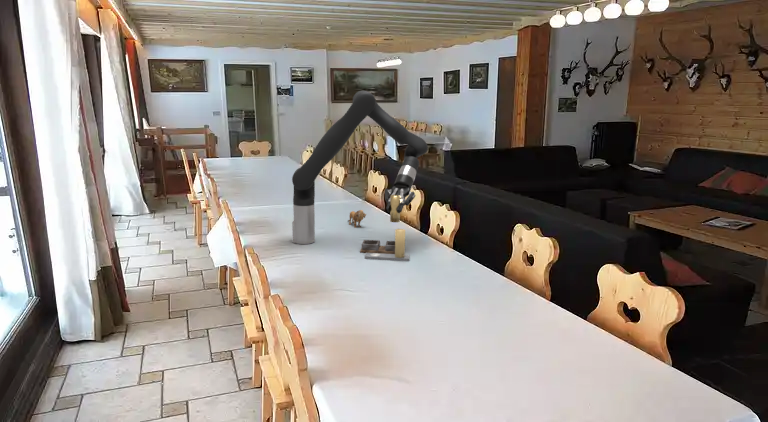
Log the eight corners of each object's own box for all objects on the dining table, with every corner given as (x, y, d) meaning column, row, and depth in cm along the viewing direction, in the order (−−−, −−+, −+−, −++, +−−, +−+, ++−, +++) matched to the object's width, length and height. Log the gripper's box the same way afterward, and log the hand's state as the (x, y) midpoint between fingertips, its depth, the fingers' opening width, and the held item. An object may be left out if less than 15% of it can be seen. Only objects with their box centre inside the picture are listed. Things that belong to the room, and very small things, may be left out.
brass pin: (389, 222, 210) (390, 196, 208) (390, 219, 214) (391, 194, 212) (399, 222, 210) (399, 196, 208) (399, 220, 214) (400, 194, 211)
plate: (364, 258, 204) (365, 230, 202) (366, 255, 209) (366, 227, 207) (409, 261, 203) (410, 232, 200) (409, 257, 208) (410, 229, 205)
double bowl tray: (360, 252, 212) (360, 244, 212) (362, 247, 220) (362, 239, 219) (402, 254, 211) (403, 246, 210) (404, 249, 219) (404, 241, 218)
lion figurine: (367, 227, 252) (367, 210, 250) (358, 229, 249) (358, 211, 247) (351, 221, 264) (351, 204, 262) (342, 223, 261) (343, 206, 259)
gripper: (388, 171, 217) (375, 204, 209) (418, 174, 211) (406, 208, 203) (393, 182, 223) (380, 214, 215) (423, 185, 217) (411, 218, 209)
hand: (393, 211), depth 209 cm, fingers closed on brass pin, 4 cm apart
